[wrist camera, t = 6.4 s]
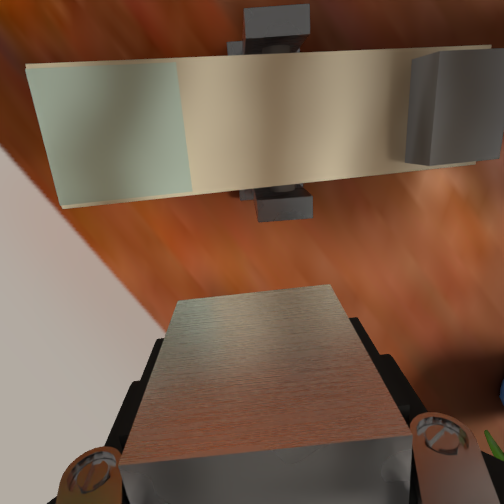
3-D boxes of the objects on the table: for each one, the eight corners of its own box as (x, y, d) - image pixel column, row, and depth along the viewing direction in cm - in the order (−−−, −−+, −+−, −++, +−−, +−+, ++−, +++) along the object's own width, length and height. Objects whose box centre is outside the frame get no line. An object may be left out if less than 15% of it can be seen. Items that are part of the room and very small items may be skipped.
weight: (178, 300, 12) (117, 465, 6) (329, 284, 12) (412, 434, 6) (201, 419, 13) (172, 634, 8) (334, 405, 13) (402, 612, 8)
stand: (297, 39, 25) (331, -12, 16) (301, 193, 29) (331, 225, 20) (227, 45, 25) (220, -4, 16) (240, 198, 29) (240, 232, 20)
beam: (460, 43, 20) (529, 22, 16) (446, 169, 22) (504, 177, 19) (40, 60, 16) (-1, 37, 12) (76, 210, 19) (51, 230, 15)
